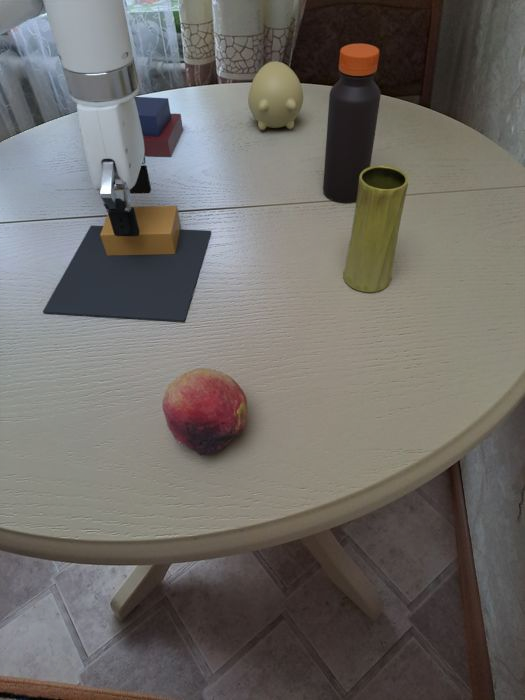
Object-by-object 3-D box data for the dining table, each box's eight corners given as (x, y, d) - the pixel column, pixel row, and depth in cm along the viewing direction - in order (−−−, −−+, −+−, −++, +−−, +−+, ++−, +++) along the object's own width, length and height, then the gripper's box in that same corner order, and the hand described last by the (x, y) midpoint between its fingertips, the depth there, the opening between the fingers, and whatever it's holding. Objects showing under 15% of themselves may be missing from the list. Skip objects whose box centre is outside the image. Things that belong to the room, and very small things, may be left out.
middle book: (99, 133, 87) (93, 112, 84) (114, 114, 91) (109, 94, 89) (159, 136, 85) (155, 116, 83) (171, 118, 90) (168, 97, 87)
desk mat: (43, 313, 62) (42, 311, 62) (91, 227, 74) (91, 225, 74) (184, 322, 61) (184, 320, 60) (211, 232, 72) (211, 230, 72)
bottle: (373, 200, 76) (395, 56, 61) (330, 207, 75) (343, 63, 60) (357, 177, 81) (375, 38, 65) (317, 183, 80) (325, 43, 65)
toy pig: (299, 141, 96) (298, 85, 96) (306, 112, 84) (305, 49, 84) (248, 141, 96) (247, 85, 96) (248, 113, 84) (247, 49, 84)
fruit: (244, 397, 53) (239, 347, 47) (254, 461, 48) (250, 415, 42) (171, 407, 52) (156, 359, 46) (173, 474, 47) (158, 429, 41)
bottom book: (93, 154, 88) (88, 138, 86) (111, 127, 95) (106, 111, 92) (170, 157, 87) (167, 140, 84) (183, 129, 93) (180, 113, 91)
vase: (390, 295, 63) (413, 194, 52) (341, 291, 63) (354, 190, 52) (390, 264, 66) (411, 164, 56) (344, 260, 67) (356, 161, 56)
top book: (106, 255, 69) (99, 234, 66) (116, 227, 73) (110, 206, 70) (175, 254, 68) (171, 233, 66) (181, 225, 73) (177, 205, 70)
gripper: (86, 49, 60) (118, 178, 73) (44, 115, 49) (91, 253, 62) (148, 48, 60) (169, 178, 73) (121, 114, 49) (151, 253, 62)
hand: (134, 212), depth 67 cm, fingers open, 9 cm apart
